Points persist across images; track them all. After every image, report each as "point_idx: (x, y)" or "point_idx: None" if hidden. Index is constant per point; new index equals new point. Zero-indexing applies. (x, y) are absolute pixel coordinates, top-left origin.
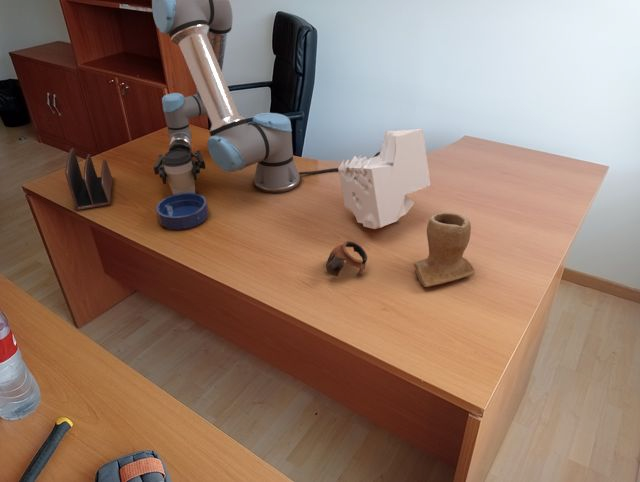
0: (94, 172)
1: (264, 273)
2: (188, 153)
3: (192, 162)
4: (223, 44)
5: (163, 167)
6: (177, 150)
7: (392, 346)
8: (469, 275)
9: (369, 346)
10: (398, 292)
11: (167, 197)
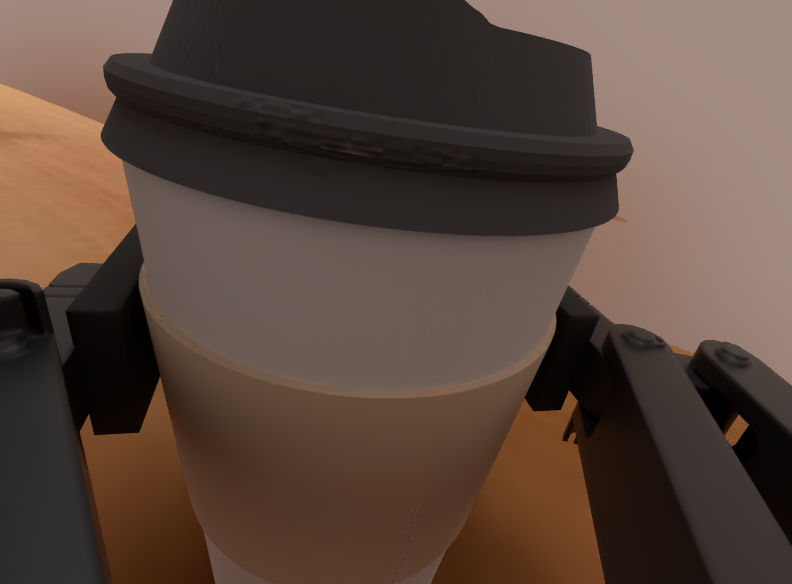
0: None
1: (111, 157)
2: (134, 66)
3: (77, 446)
4: None
5: (587, 315)
6: (405, 27)
7: (13, 99)
8: None
9: (44, 103)
10: None
11: None
